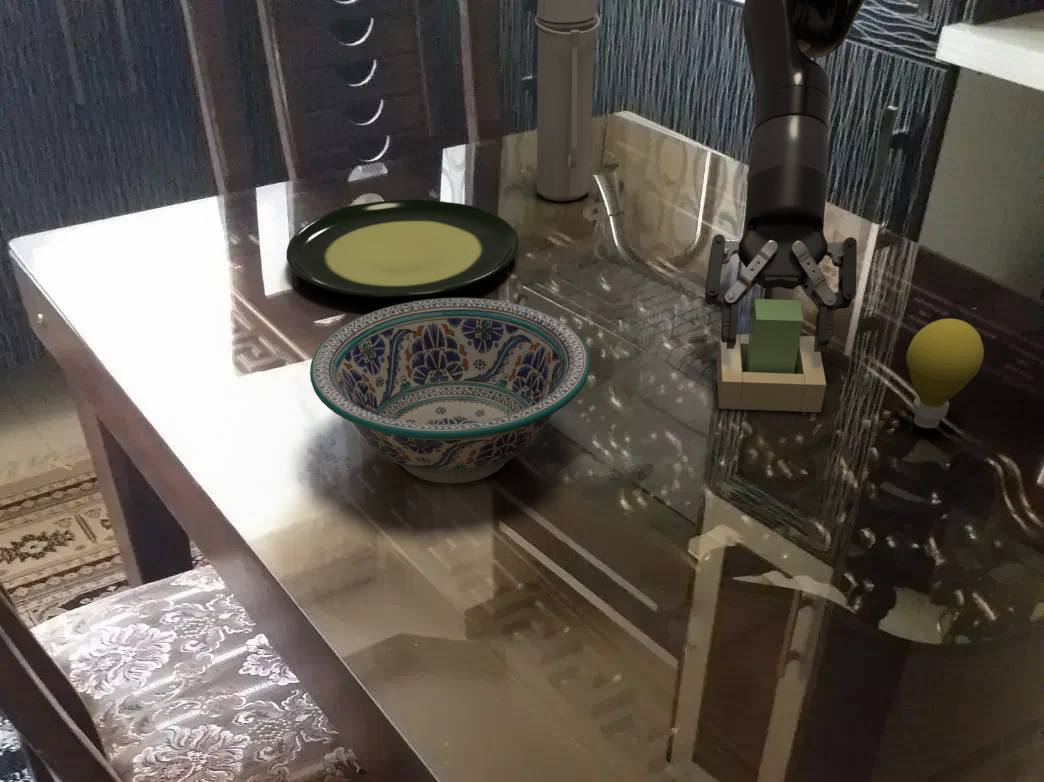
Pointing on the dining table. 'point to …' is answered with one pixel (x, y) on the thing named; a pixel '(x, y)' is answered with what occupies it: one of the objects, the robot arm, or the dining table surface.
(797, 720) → the dining table surface
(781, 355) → the post
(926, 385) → the light bulb
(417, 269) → the plate
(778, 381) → the socket pad
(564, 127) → the water bottle
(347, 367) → the bowl
